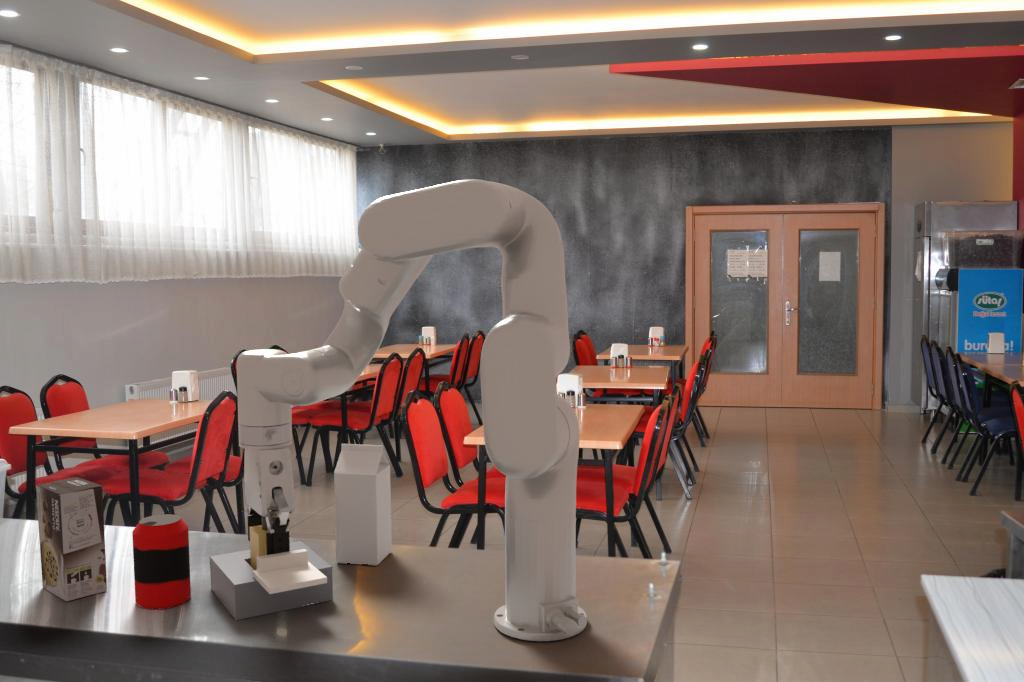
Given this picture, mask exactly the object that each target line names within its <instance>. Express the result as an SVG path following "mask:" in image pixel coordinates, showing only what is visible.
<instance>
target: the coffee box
mask: <svg viewBox="0 0 1024 682" xmlns="http://www.w3.org/2000/svg"><path fill="white" fill-rule="evenodd" d="M35 487H36V488H35V490H36V504H37V521H38V524H37V525H38V537H39V538H38V539H39V550H40V551H39V552H40V566H41V567H40V568H41V579H42V580H41V582H42V588H43V589H44V590H46V591H48V592H50V593H51V594H53V595H54V596H57V597H58V598H59V599H60V600H63V601H65V602H70V601H73V600H78V599H82V598H85V597H88V596H93V595H97V594H101V593H105V592H107V590H108V584H107V582H108V580H107V559H106V556H107V555H106V542H105V540H106V539H105V536H106V535H105V517H104V497H103V494H104V493H103V488H104V487H103V485H101V484H98V483H96V482H93V481H89V480H87V479H84V478H81V477H79V476H75V477H74V476H73V477H68V478H64V479H58V480H54V481H50V482H46V483H40V484H36V485H35Z"/></svg>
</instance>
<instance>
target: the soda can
mask: <svg viewBox="0 0 1024 682" xmlns="http://www.w3.org/2000/svg"><path fill="white" fill-rule="evenodd" d="M131 533H132V534H131V535H132V553H133V555H132V556H133V557H132V558H133V573H134V574H133V577H134V597H135V598H134V599H135V603H136V605H137V606H139V607H140V608H142V609H144V610H164V609H171V608H175V607H179V606H181V605H182V604H184V603H185V602H187V601H189V599H190V597H191V595H192V593H191V592H192V587H191V564H190V563H191V562H190V541H189V538H190V535H189V525H188V524H187V523H186V521H184V519H182V517H181V516H180V515H178V514H171V513H169V514H166V513H165V514H154V515H150V516H146V517H144V518H141V519H140V520H139V521H138V523H137V524H136V526H135V528H134V529H132V532H131Z"/></svg>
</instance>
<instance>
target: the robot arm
mask: <svg viewBox="0 0 1024 682" xmlns="http://www.w3.org/2000/svg"><path fill="white" fill-rule="evenodd" d="M357 236H358V241H359V243H360V246H361V250H360V251H359V252H358V253H357V255H356V257H355V259H353V261H352V262H351V264H350V265H349V267H348V268H347V269H346V271H345V272H344V274H343V275H342V276H341V278H340V279H339V282H338V290H339V292H340V295H341V296H342V299H343V301H344V307H343V311H342V314H341V316H340V318H339V319H338V322H337V324H336V325H335V327H334V328H333V330H331V333H330V334H329V336H328V338H326V340H325V341H324V343H322V345H321V346H320V347H317V348H312V349H307V350H305V351H299V352H295V353H287V352H286V351H284V350H281V349H275V348H274V349H273V348H271V349H270V348H263V349H262V348H261V349H260V348H258V349H250V350H245V351H242V352H241V353H240V354H239V355H238V356H237V359H236V386H237V387H236V388H237V391H236V393H237V419H238V421H237V422H238V447H240V448H241V449H244V455H243V456H244V458H243V459H244V461H243V462H244V463H243V464H244V467H243V470H244V471H243V475H244V478H243V482H244V498H245V502H246V504H247V509H246V510H247V511H246V512H247V515H248V516H247V540H248V542H249V543H250V528H249V527H253V526H259V525H262V516H263V517H265V518H266V522H267V527H268V531H269V533H266V549H267V555H271V554H277V553H283V552H289V551H290V543H291V542H290V528H291V527H290V522H291V520H290V518H289V516H290V514H293V513H294V512H295V510H296V504H295V501H296V500H295V486H294V474H293V464H292V457H291V450H290V446H292V444H293V429H292V428H293V427H292V426H293V424H292V423H293V421H292V419H293V417H292V414H293V413H292V406H296V407H306V406H307V407H308V406H310V405H315V404H318V403H320V402H323V401H325V400H327V399H331V398H334V397H337V396H340V395H342V394H344V393H345V392H347V391H348V390H349V389H350V388H351V387H352V386H353V385H354V384H355V383H356V382H357V380H358V379H359V378H360V377H361V375H362V374H363V373H364V371H365V370H366V368H367V367H368V365H369V364H370V362H371V361H372V360H373V358H374V356H375V355H376V354H377V352H378V350H379V349H380V346H381V345H382V342H383V341H384V338H385V335H386V333H387V331H388V327H389V326H390V325H389V324H390V319H391V317H392V315H393V314H394V312H395V311H396V309H397V307H398V306H399V305H400V303H401V302H402V301H403V299H404V298H405V296H406V295H407V293H408V292H409V290H410V289H411V288H412V286H413V285H414V283H415V282H416V280H417V279H418V277H419V276H421V273H422V272H423V271H424V270H425V268H426V266H427V265H428V264H429V262H430V261H431V259H432V258H433V257H434V256H435V255H440V254H444V253H450V252H455V251H461V250H467V249H474V248H477V249H478V248H496V249H498V251H500V254H501V258H502V265H501V275H500V276H501V279H500V288H501V289H500V290H501V297H502V320H500V321H499V322H498V323H496V324H495V325H494V326H492V328H491V329H490V330H489V331H488V333H487V335H486V337H485V339H484V342H483V344H482V349H481V352H480V359H479V360H480V361H479V367H480V368H479V370H480V374H479V375H480V389H481V390H480V392H481V410H482V411H481V413H482V428H483V429H482V430H483V441H484V445H485V446H484V447H485V451H486V453H487V455H488V456H487V457H488V458H489V460H490V462H491V463H492V464H493V466H494V468H496V469H497V470H498V471H499V472H500V473H501V474H503V475H504V476H506V477H505V487H504V489H505V491H504V492H505V493H504V565H505V566H504V571H505V572H504V575H505V576H504V581H505V582H504V583H505V584H504V585H505V587H504V588H505V589H504V590H505V593H504V595H505V598H504V599H505V604H503V605H502V606H500V607H498V608H497V609H496V610H495V613H494V614H493V623H494V627H495V628H496V629H497V630H498V631H499V632H500V633H502V634H504V635H506V636H508V637H511V638H514V639H518V640H523V641H529V642H551V641H553V642H554V641H560V640H564V639H569V638H573V637H574V636H576V635H579V634H580V633H581V632H583V631H584V630H585V629H586V627H587V624H588V619H587V618H588V615H587V613H586V612H585V610H584V609H583V608H581V606H579V598H578V597H576V578H577V577H576V572H577V571H576V564H577V563H576V562H577V561H576V559H577V556H576V555H577V554H576V547H577V546H576V543H577V542H576V539H577V538H576V537H577V535H576V532H577V530H576V529H577V525H576V524H577V523H576V520H577V519H576V518H577V517H576V513H577V476H578V462H579V450H580V423H579V419H578V416H577V414H576V412H575V409H574V407H572V405H571V403H570V402H569V401H567V399H565V398H564V397H562V396H561V395H559V394H557V377H558V376H559V375H560V374H561V373H562V372H563V371H564V370H565V368H566V366H567V365H568V363H569V361H570V357H571V356H570V355H571V344H570V343H571V342H570V331H569V317H568V316H569V315H568V313H569V312H568V294H567V293H568V292H567V283H566V270H565V269H566V265H565V251H564V250H565V249H564V245H563V239H562V233H561V231H560V228H559V226H558V223H557V221H556V219H555V217H554V216H553V214H552V213H551V212H550V210H549V209H548V208H547V207H546V205H545V204H544V203H542V202H541V201H540V200H538V198H536V197H534V196H533V195H531V194H529V193H528V192H526V191H523V190H521V189H519V188H516V187H514V186H510V185H508V184H504V183H500V182H498V181H497V182H495V181H489V180H484V179H477V178H476V179H475V178H469V179H468V178H467V179H460V180H455V181H450V182H445V183H441V184H436V185H433V186H426V187H424V188H419V189H414V190H410V191H404V192H399V193H394V194H390V195H384V196H382V197H379V198H377V199H376V200H374V201H372V202H371V203H370V204H368V205H367V207H366V208H364V210H363V212H362V214H361V215H360V217H359V221H358V225H357ZM274 517H276V518H275V520H274V523H273V521H272V518H274Z"/></svg>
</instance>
